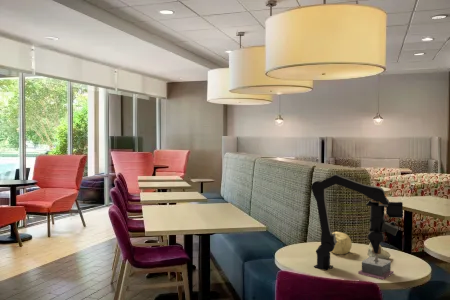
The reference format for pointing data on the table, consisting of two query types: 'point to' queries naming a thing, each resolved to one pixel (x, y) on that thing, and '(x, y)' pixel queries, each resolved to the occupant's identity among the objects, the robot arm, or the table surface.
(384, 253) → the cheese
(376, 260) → the plunger
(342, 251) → the sculpture
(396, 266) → the table surface
